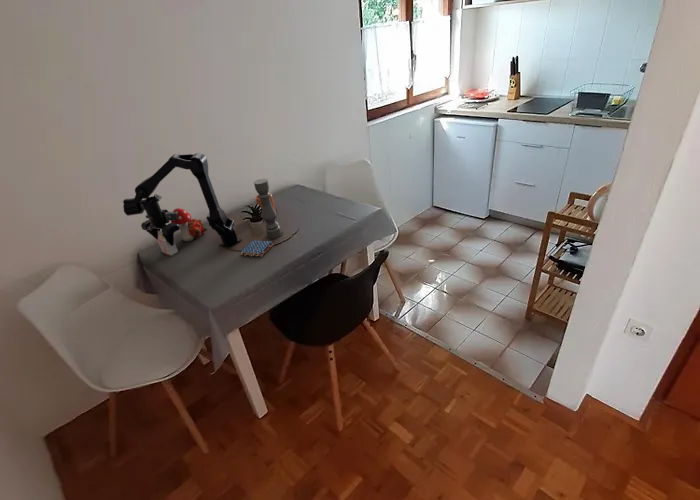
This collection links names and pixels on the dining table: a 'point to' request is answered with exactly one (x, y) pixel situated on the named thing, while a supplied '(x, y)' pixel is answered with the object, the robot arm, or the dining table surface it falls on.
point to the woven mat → (256, 248)
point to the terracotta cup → (261, 203)
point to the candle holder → (267, 209)
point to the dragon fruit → (196, 228)
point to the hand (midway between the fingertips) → (167, 244)
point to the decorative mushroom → (183, 223)
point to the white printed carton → (166, 245)
